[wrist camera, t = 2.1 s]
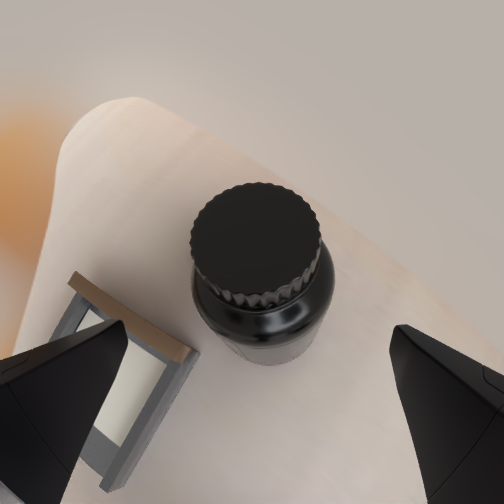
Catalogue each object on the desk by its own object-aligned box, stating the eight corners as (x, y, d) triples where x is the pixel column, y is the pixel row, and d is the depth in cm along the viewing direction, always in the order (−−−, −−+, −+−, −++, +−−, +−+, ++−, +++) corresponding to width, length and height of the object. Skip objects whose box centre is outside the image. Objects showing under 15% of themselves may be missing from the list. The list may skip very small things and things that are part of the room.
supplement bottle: (300, 265, 23) (312, 147, 12) (329, 350, 20) (385, 291, 9) (213, 289, 23) (156, 188, 12) (234, 377, 19) (178, 352, 9)
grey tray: (123, 486, 15) (96, 497, 12) (38, 406, 18) (7, 401, 15) (200, 353, 20) (183, 343, 17) (100, 289, 23) (75, 270, 20)
